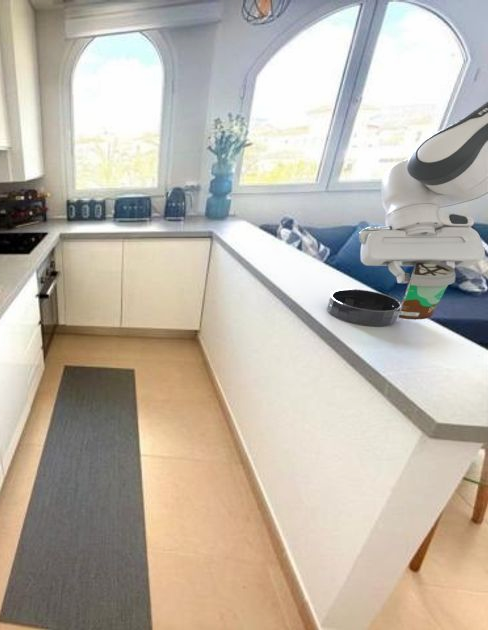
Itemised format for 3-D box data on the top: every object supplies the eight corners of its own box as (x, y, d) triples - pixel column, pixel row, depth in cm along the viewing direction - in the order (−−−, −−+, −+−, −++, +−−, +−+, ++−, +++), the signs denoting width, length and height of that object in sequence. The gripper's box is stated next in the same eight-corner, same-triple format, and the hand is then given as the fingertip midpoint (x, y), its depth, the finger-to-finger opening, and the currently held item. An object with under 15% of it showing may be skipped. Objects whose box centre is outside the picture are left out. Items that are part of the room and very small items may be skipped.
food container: (439, 328, 67) (459, 280, 63) (397, 320, 72) (413, 275, 67) (440, 305, 75) (458, 261, 71) (402, 299, 79) (417, 257, 75)
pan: (379, 304, 102) (384, 290, 100) (409, 328, 89) (416, 313, 87) (318, 301, 106) (322, 288, 104) (339, 324, 93) (343, 309, 91)
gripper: (365, 219, 77) (373, 275, 73) (483, 217, 71) (499, 277, 67) (351, 234, 83) (358, 287, 79) (458, 233, 77) (472, 290, 73)
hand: (424, 282), depth 73 cm, fingers closed on food container, 5 cm apart
